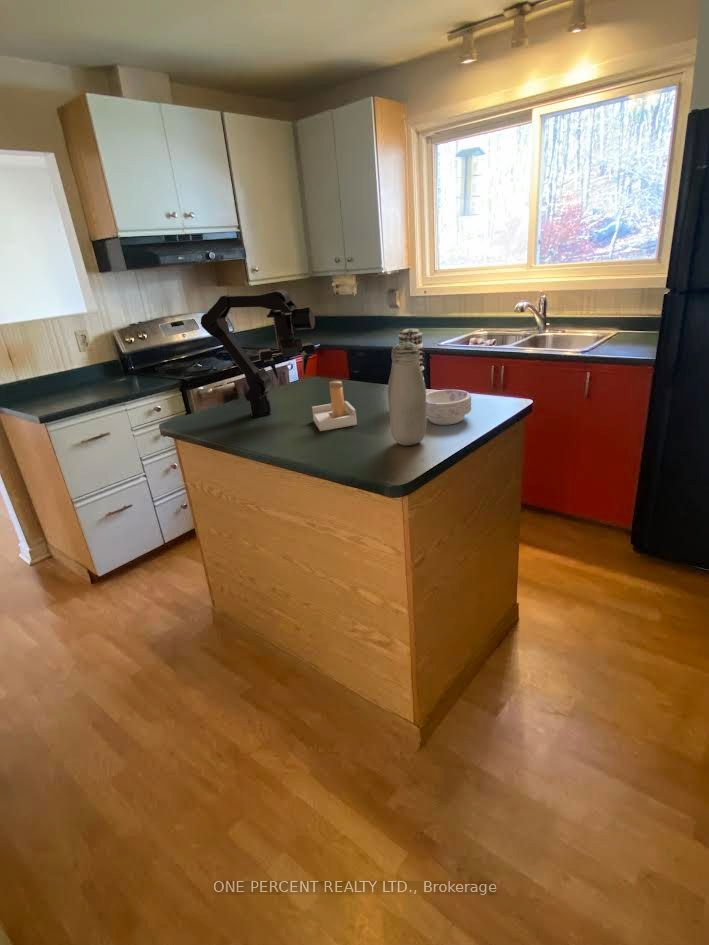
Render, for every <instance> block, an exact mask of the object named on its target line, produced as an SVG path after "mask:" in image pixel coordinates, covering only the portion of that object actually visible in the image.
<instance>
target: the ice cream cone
mask: <svg viewBox="0 0 709 945" xmlns="http://www.w3.org/2000/svg"><path fill="white" fill-rule="evenodd" d="M343 388H344V387H343V381H342V380H332V381H329V392H330V400H331V401H330V404H332V411H333V418H337V417H343V416H345V407H344V401H345V399H344V397H345V396H344V389H343Z"/></svg>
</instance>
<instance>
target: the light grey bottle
mask: <svg viewBox="0 0 709 945" xmlns="http://www.w3.org/2000/svg"><path fill="white" fill-rule="evenodd" d="M390 356H391V360H392V362H391V368H390V369H391V370H390V374H389V378H388V383H387V400H388V401H387V402H388V414H389V423H390V424H389V426H390V433H391V436H392V439H393V440H394V441H395V442H396V443H397V444H399V445H401V446H413V445H417V444H418V443H420V442H421V441H423V440H424V438H425V435H426V432H427V417H426V394H427V389H426V388H427V387H426V382H425V378H424V379H423V377H424V375H423V376H422V372H421V369H420V363H419V357H420V354H419V350H418V347H417V346H416V345H415V344H414V343H412V342H404V343H397V344H395V345H394V346H393V347H392V349H391V355H390ZM424 382H425V383H424Z"/></svg>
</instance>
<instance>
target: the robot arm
mask: <svg viewBox="0 0 709 945" xmlns="http://www.w3.org/2000/svg"><path fill="white" fill-rule="evenodd" d="M232 308H236V309H237V308H264V309H267V310H269V312H268V314H266V317H267V319H268V318H273V324H274V332H275V337H276V344H277V349H274V350H271V348H263V349H259V350H258V356H259V360H260V361H261V362H264V363H266V364H268V365H269V366H270V367H271V370H272V372H273V374H274V376H275V377H276V380H279V374H278V371H277V368H276V364H275V361H274V360H275V359H273V357H278V356H282V357H284V358H288V357H291V356H292V357H296V356H298V353H299V354H301V370H302V375H303V376H305V375H306V371H307V364H308V361H309V359H310V357H313V354H316V353H317V348H316V346H315V344H313V343H312V342H307V343H306V342H305V343H302V339H301V338H297V339H295V336H294V331H293V328H294V329H295V330H309V329H310V330H311V329H314V328H315V324H316V318H315V315H314V312H313V310H312V307H311V306H305V307H298V306H297V304H296V303H294V301H293V300H292V299H291V296H290V293H289V292H288V291H287V290H285V289H278V290H274V291H270V292H269V291H268V292H266V293H261V294H259V293H258V294H234V295H233V294H231V295H230V294H224V295H221V296H220V297H219V299H218V300H217V301H216V303H215V304H213V305H212V306H211V308H209V310H208V311H207V312H206V313H203V314H202V316H201V318H200V325H201V327H202V329H204V330H205V331H206V333H208V334H209V335H210V336H211V337H213V338H215V339H216V340H218V341H219V343H220V345H222V347H223V348H224V349H225V351H226V352H227V354H228V355H229V356H230V357H231V359H232V360H233V361H234V362H235V364H236V365H237V367H238V368H239V369H240V371H241V372H242V373H243V375H244V378H245V382H246V385H247V386H248V388H249V389H248V391H247V392H246V393H245V394H244V398H245V400H246V401H247V402H249V406H250V414H251V415H250V416H251V417H252V418H257V417H264V416H270V415H271V412H272V410H271V404H270V403H271V402H270V400H269V398H268V396H267V395H268V394H269V391H270V389H271V387H272V383H273V382H272V379H271V375H270V374H269V373H268V372H267V370H266V369H265V368H264V367H262V368H261V369H260V368H259V367H257V366H256V365H255V364H254V362H253V361H252V360H251V358H250V357H249V356H248V354H246V352H245V351H244V349H243V348H242V347H241V345H240V344H239V343H238V341H237V340H236V339H235V337H234V336H233V334H232V333H231V331H230V327H229V324H228V322H227V320H226V318H227V316H228V314H229V313H230V310H231V309H232Z"/></svg>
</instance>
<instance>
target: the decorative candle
mask: <svg viewBox="0 0 709 945" xmlns="http://www.w3.org/2000/svg"><path fill="white" fill-rule="evenodd" d="M422 335H423V332H421V331H420V329H418V328H412V327H411V328H404V329H402V330H401V331H400V332H399V333H398V337H399V343H404V342H412V343H414V344H415V345H416V346H417V347H418V350H419V354H420V357H419V363H420V369H421V372H422V376H423V379H424V380H425V377H424V370H425V364H426V363H424V362H425V358H424V357H423V356H424V355H425V354H426V353H425V352H424V350H425V349H426V348H425V347H424V346H423V336H422ZM399 343H398V344H399ZM424 383H425V384H426V382H425V381H424Z"/></svg>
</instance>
